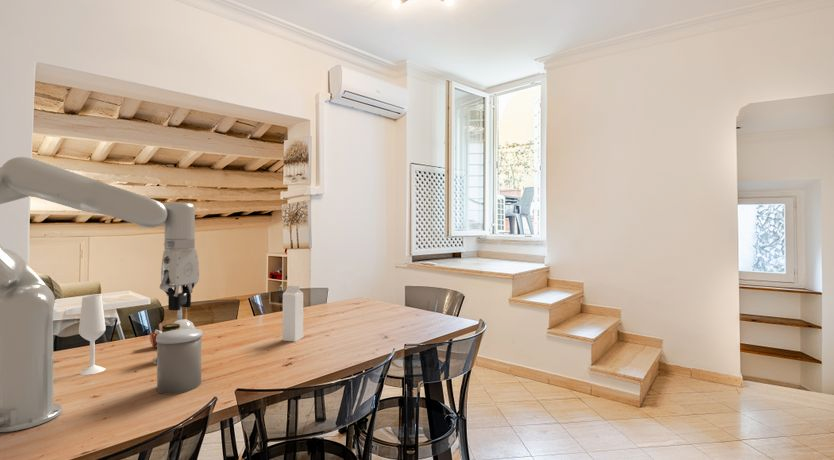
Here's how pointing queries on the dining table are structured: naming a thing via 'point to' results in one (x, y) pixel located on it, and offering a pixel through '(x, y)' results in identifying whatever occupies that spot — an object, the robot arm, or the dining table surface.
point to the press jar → (178, 360)
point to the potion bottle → (183, 323)
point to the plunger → (182, 301)
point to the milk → (292, 314)
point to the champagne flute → (92, 327)
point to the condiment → (168, 328)
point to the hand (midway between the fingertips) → (179, 307)
